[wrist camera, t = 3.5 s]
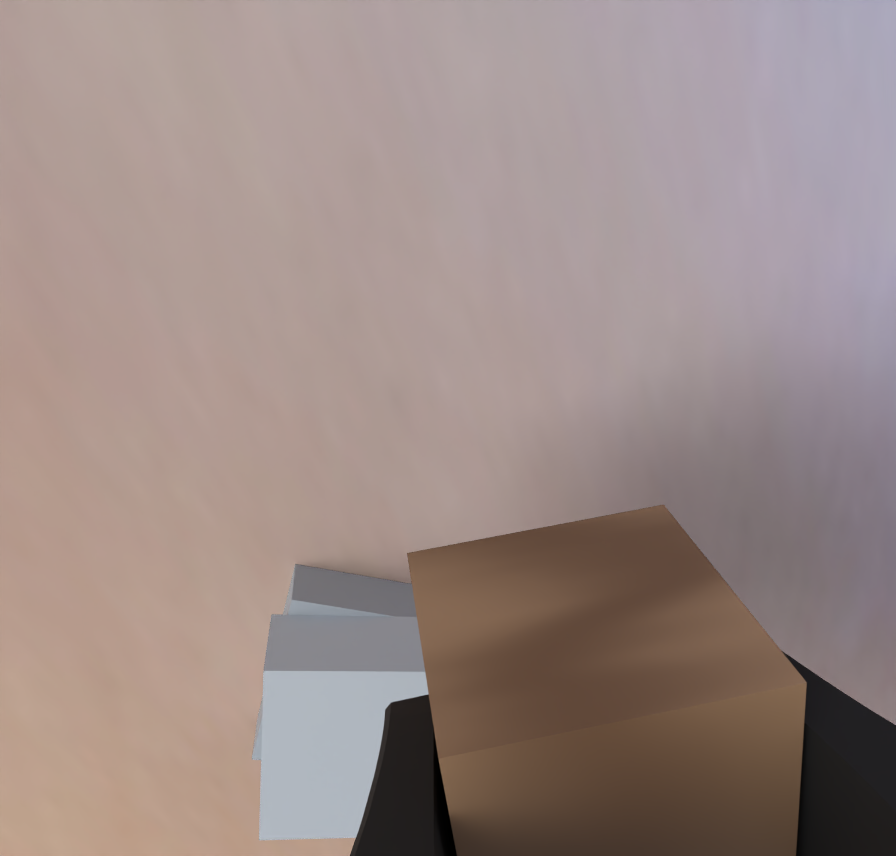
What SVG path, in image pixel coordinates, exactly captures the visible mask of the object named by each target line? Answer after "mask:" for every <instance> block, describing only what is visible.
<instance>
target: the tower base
mask: <svg viewBox="0 0 896 856" xmlns="http://www.w3.org/2000/svg"><path fill="white" fill-rule="evenodd" d="M283 615H328V616H387V617H417V615H416V608H415V601H414V595H413V588H412V584H409V583H403V582H397V581H391V580H385V579H379V578H373V577H368V576H362V575H356V574H350V573H344V572H338V571H333V570H327V569H321V568H315V567H309V566H303V565H298V564H295V568H294V572H293V576H292V580H291V584H290V588H289V592H288V596H287V600H286V604H285V608H284V612H283ZM262 712H263V697H262V701H261V705H260V709H259V713H258V719H257V726H256V733H255V740H254V747H253V754H252V759H254V760H261V751H262Z"/></svg>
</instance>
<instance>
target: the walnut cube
mask: <svg viewBox="0 0 896 856" xmlns="http://www.w3.org/2000/svg"><path fill="white" fill-rule="evenodd" d="M407 555H408V562H409V569H410V575H411V582H412V588H413V595H414V601H415V608H416V615H417V621H418V628H419V634H420V641H421V647H422V654H423V661H424V667H425V674H426V680H427V687H428V693H429V700H430V707H431V713H432V720H433V726H434V733H435V739H436V746H437V753H438V759H439V764H440V769H441V775H442V780H443V785H444V790H445V796H446V801H447V806H448V811H449V816H450V822H451V827H452V832H453V837H454V843H455V848H456V853H457V856H796V846H797V830H798V814H799V798H800V782H801V766H802V750H803V734H804V719H805V703H806V687H807V682H806V681H805V680H804V678H803V677H802V676H801V675H800V674H799V672H798V671H797V670H796V669H795V667H794V666H793V665H792V664H791V662H790V661H789V660H788V659H787V657H786V656H785V655H784V654H783V652H782V651H781V650H780V649H779V647H778V646H777V645H776V644H775V642H774V641H773V640H772V639H771V637H770V636H769V635H768V634H767V633H766V631H765V630H764V629H763V628H762V626H761V625H760V624H759V623H758V621H757V620H756V619H755V618H754V616H753V615H752V614H751V613H750V611H749V610H748V609H747V608H746V606H745V605H744V604H743V603H742V601H741V600H740V599H739V598H738V597H737V595H736V594H735V593H734V592H733V590H732V589H731V588H730V587H729V585H728V584H727V583H726V582H725V580H724V579H723V578H722V577H721V575H720V574H719V573H718V572H717V570H716V569H715V568H714V567H713V565H712V564H711V563H710V562H709V561H708V559H707V558H706V557H705V556H704V554H703V553H702V552H701V551H700V549H699V548H698V547H697V546H696V544H695V543H694V542H693V541H692V539H691V538H690V537H689V536H688V534H687V533H686V532H685V531H684V529H683V528H682V527H681V526H680V524H679V523H678V522H677V521H676V520H675V518H674V517H673V516H672V515H671V513H670V512H669V511H668V510H667V508H666V507H665V506H664V505H659V506H654V507H649V508H643V509H638V510H633V511H628V512H622V513H617V514H612V515H606V516H601V517H596V518H591V519H585V520H580V521H575V522H569V523H564V524H559V525H554V526H548V527H543V528H538V529H532V530H527V531H522V532H517V533H511V534H506V535H501V536H495V537H490V538H485V539H479V540H474V541H469V542H464V543H458V544H453V545H448V546H442V547H437V548H432V549H427V550H421V551H416V552H411V553H407Z"/></svg>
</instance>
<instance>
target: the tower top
mask: <svg viewBox="0 0 896 856" xmlns="http://www.w3.org/2000/svg"><path fill="white" fill-rule="evenodd" d="M428 694H429V693H428V687H427V680H426V674H425V667H424V661H423V654H422V647H421V641H420V634H419V628H418V621H417V617H387V616H328V615H271V622H270V629H269V636H268V643H267V650H266V657H265V664H264V674H263V712H262V751H261V790H260V829H259V840H286V839H322V838H356V836H357V834H358V831H359V827H360V824H361V821H362V818H363V814H364V811H365V807H366V803H367V800H368V796H369V792H370V789H371V785H372V781H373V778H374V774H375V769H376V765H377V760H378V756H379V751H380V746H381V740H382V734H383V727H384V718H385V709H386V708H387V707H388V705H389V704H390V703H391V702H395V701H400V700H405V699H409V698H414V697H418V696H423V695H428Z"/></svg>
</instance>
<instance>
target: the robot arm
mask: <svg viewBox="0 0 896 856" xmlns="http://www.w3.org/2000/svg"><path fill="white" fill-rule="evenodd" d="M782 652H783V651H782ZM783 654H784V655H785V656H786V657H787V659H788V660H789V661H790V662H791V664H792V665H793V666H794V667H795V669H796V670H797V671H798V672H799V674H800V675H801V676H802V677H803V678H804V680H805V681H806V682H807V687H806V703H805V719H804V734H803V750H802V766H801V782H800V798H799V814H798V830H797V846H796V856H896V725H894V724H893V723H891V722H889V721H888V720H886V719H884V718H883V717H881V716H879V715H878V714H876V713H875V712H873V711H871V710H870V709H868V708H867V707H865V706H863V705H862V704H860V703H859V702H857V701H856V700H854V699H852V698H851V697H849V696H848V695H846V694H845V693H843V692H842V691H840V690H838V689H837V688H835V687H834V686H832V685H831V684H829V683H828V682H826V681H825V680H823V679H822V678H820V677H819V676H818V675H816V674H815V673H813V672H812V671H810V670H809V669H807V668H806V667H804V666H803V665H801V664H800V663H798V662H797V661H796V660H794V659H793V658H791V657H790V656H788V655H787V654H785V653H784V652H783ZM350 856H457V853H456V848H455V843H454V837H453V832H452V827H451V822H450V816H449V811H448V806H447V801H446V796H445V790H444V785H443V780H442V775H441V769H440V764H439V759H438V753H437V746H436V739H435V733H434V726H433V720H432V713H431V707H430V700H429V694H428V695H423V696H418V697H414V698H409V699H405V700H400V701H395V702H391V703H390V704H389V705H388V707H387V708H386V709H385V718H384V727H383V734H382V740H381V746H380V751H379V756H378V760H377V765H376V769H375V774H374V778H373V781H372V785H371V789H370V792H369V796H368V800H367V803H366V807H365V811H364V814H363V818H362V821H361V824H360V827H359V831H358V834H357V836H356V839H355V842H354V845H353V848H352V851H351V854H350Z"/></svg>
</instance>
